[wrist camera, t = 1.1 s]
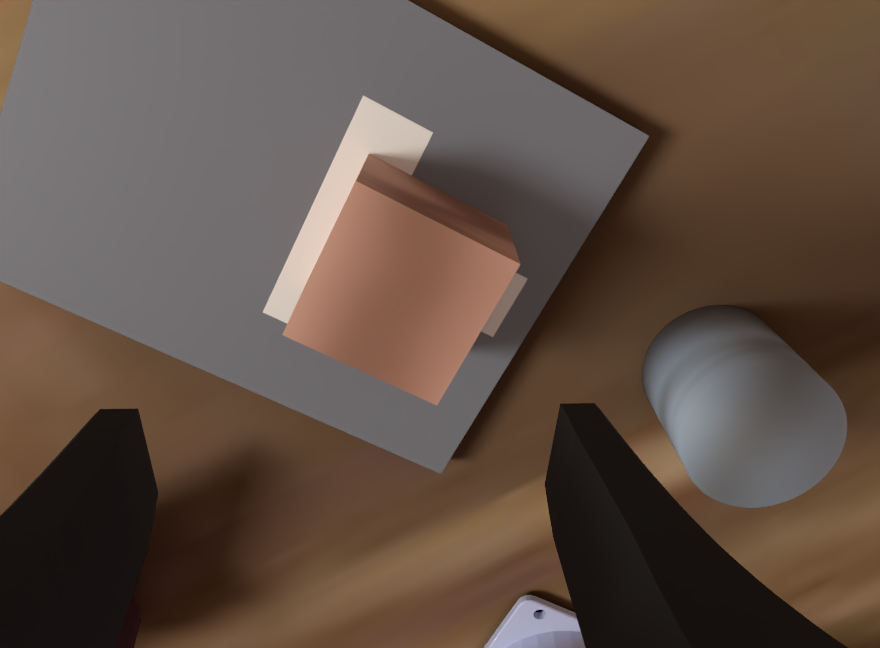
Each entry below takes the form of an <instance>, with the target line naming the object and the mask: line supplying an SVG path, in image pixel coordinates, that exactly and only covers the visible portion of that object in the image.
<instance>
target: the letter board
mask: <svg viewBox="0 0 880 648" xmlns="http://www.w3.org/2000/svg"><path fill="white" fill-rule="evenodd" d="M648 138H649V136H648V135H647V134H645V133H644V132H642V131H640V130H639V129H637V128H635V127H633V126H631V125H630V124H628V123H626V122H624V121H622V120H621V119H619V118H617V117H615V116H614V115H612V114H610V113H608V112H606V111H605V110H603V109H601V108H599V107H598V106H596V105H594V104H592V103H590V102H589V101H587V100H585V99H583V98H582V97H580V96H578V95H576V94H574V93H573V92H571V91H569V90H567V89H566V88H564V87H562V86H560V85H558V84H557V83H555V82H553V81H551V80H550V79H548V78H546V77H544V76H542V75H541V74H539V73H537V72H535V71H534V70H532V69H530V68H528V67H526V66H525V65H523V64H521V63H519V62H518V61H516V60H514V59H512V58H510V57H509V56H507V55H505V54H503V53H502V52H500V51H498V50H496V49H494V48H493V47H491V46H489V45H487V44H486V43H484V42H482V41H480V40H478V39H477V38H475V37H473V36H471V35H470V34H468V33H466V32H464V31H462V30H461V29H459V28H457V27H455V26H454V25H452V24H450V23H448V22H446V21H445V20H443V19H441V18H439V17H438V16H436V15H434V14H432V13H430V12H429V11H427V10H425V9H423V8H422V7H420V6H418V5H416V4H414V3H413V2H411V1H409V0H33V3H32V6H31V10H30V13H29V17H28V20H27V24H26V27H25V31H24V34H23V38H22V41H21V45H20V48H19V52H18V55H17V59H16V62H15V66H14V69H13V73H12V76H11V80H10V83H9V87H8V90H7V93H6V97H5V100H4V104H3V107H2V111H1V114H0V281H1V282H3V283H6V284H8V285H10V286H12V287H15V288H17V289H19V290H22V291H24V292H26V293H28V294H31V295H33V296H35V297H38V298H40V299H42V300H44V301H47V302H49V303H51V304H54V305H56V306H58V307H60V308H63V309H65V310H67V311H70V312H72V313H74V314H76V315H79V316H81V317H83V318H86V319H88V320H90V321H92V322H95V323H97V324H99V325H102V326H104V327H106V328H108V329H111V330H113V331H115V332H118V333H120V334H122V335H124V336H127V337H129V338H131V339H134V340H136V341H138V342H140V343H143V344H145V345H147V346H150V347H152V348H154V349H156V350H159V351H161V352H163V353H166V354H168V355H170V356H172V357H175V358H177V359H179V360H182V361H184V362H186V363H188V364H191V365H193V366H195V367H198V368H200V369H202V370H204V371H207V372H209V373H211V374H214V375H216V376H218V377H220V378H223V379H225V380H227V381H230V382H232V383H234V384H236V385H239V386H241V387H243V388H246V389H248V390H250V391H252V392H255V393H257V394H259V395H262V396H264V397H266V398H268V399H271V400H273V401H275V402H278V403H280V404H282V405H284V406H287V407H289V408H291V409H294V410H296V411H298V412H300V413H303V414H305V415H307V416H310V417H312V418H314V419H316V420H319V421H321V422H323V423H326V424H328V425H330V426H332V427H335V428H337V429H339V430H342V431H344V432H346V433H348V434H351V435H353V436H355V437H358V438H360V439H362V440H364V441H367V442H369V443H371V444H374V445H376V446H378V447H380V448H383V449H385V450H387V451H390V452H392V453H394V454H396V455H399V456H401V457H403V458H406V459H408V460H410V461H412V462H415V463H417V464H419V465H422V466H424V467H426V468H428V469H431V470H433V471H435V472H438V473H440V474H441V473H442V471H443V470H444V468H445V466H446V465H447V463H448V461H449V460H450V458H451V457H452V455H453V453H454V452H455V450H456V449H457V447H458V445H459V444H460V442H461V440H462V439H463V437H464V436H465V434H466V432H467V431H468V429H469V427H470V426H471V424H472V423H473V421H474V419H475V418H476V416H477V415H478V413H479V411H480V410H481V408H482V406H483V405H484V403H485V402H486V400H487V398H488V397H489V395H490V393H491V392H492V390H493V389H494V387H495V385H496V384H497V382H498V381H499V379H500V377H501V376H502V374H503V372H504V371H505V369H506V368H507V366H508V364H509V363H510V361H511V359H512V358H513V356H514V355H515V353H516V351H517V350H518V348H519V347H520V345H521V343H522V342H523V340H524V338H525V337H526V335H527V334H528V332H529V330H530V329H531V327H532V325H533V324H534V322H535V321H536V319H537V317H538V316H539V314H540V313H541V311H542V309H543V308H544V306H545V304H546V303H547V301H548V300H549V298H550V296H551V295H552V293H553V291H554V290H555V288H556V287H557V285H558V283H559V282H560V280H561V279H562V277H563V275H564V274H565V272H566V270H567V269H568V267H569V266H570V264H571V262H572V261H573V259H574V257H575V256H576V254H577V253H578V251H579V249H580V248H581V246H582V245H583V243H584V241H585V240H586V238H587V236H588V235H589V233H590V232H591V230H592V228H593V227H594V225H595V223H596V222H597V220H598V219H599V217H600V215H601V214H602V212H603V211H604V209H605V207H606V206H607V204H608V202H609V201H610V199H611V198H612V196H613V194H614V193H615V191H616V189H617V188H618V186H619V185H620V183H621V181H622V180H623V178H624V177H625V175H626V173H627V172H628V170H629V168H630V167H631V165H632V164H633V162H634V160H635V159H636V157H637V155H638V154H639V152H640V151H641V149H642V147H643V146H644V144H645V143H646V141H647V139H648ZM368 154H371V155H373V156H375V157H377V158H379V159H380V160H382V161H384V162H386V163H388V164H390V165H392V166H394V167H396V168H398V169H400V170H402V171H404V172H406V173H408V174H410V175H412V176H413V177H415V178H417V179H419V180H421V181H423V182H425V183H427V184H429V185H431V186H433V187H435V188H437V189H439V190H441V191H443V192H445V193H446V194H448V195H450V196H452V197H454V198H456V199H458V200H460V201H462V202H464V203H466V204H468V205H470V206H472V207H474V208H476V209H478V210H479V211H481V212H483V213H485V214H487V215H489V216H491V217H493V218H495V219H497V220H499V221H501V222H503V223H505V224H507V225H508V227H509V230H510V233H511V236H512V239H513V242H514V245H515V248H516V252H517V255H518V258H519V261H520V266H519V268H518V269H517V271H516V273H515V275H514V276H513V278H512V280H511V281H510V283H509V285H508V286H507V288H506V290H505V291H504V293H503V295H502V297H501V298H500V300H499V302H498V303H497V305H496V307H495V308H494V310H493V312H492V313H491V315H490V317H489V319H488V320H487V322H486V324H485V325H484V327H483V329H482V330H481V332H480V334H479V336H478V337H477V339H476V341H475V342H474V344H473V346H472V347H471V349H470V351H469V352H468V354H467V356H466V358H465V359H464V361H463V363H462V364H461V366H460V368H459V369H458V371H457V373H456V374H455V376H454V378H453V380H452V381H451V383H450V385H449V386H448V388H447V390H446V391H445V393H444V395H443V396H442V398H441V400H440V402H439V403H438V405H435V404H432V403H430V402H428V401H426V400H424V399H421V398H419V397H417V396H415V395H413V394H410V393H408V392H406V391H404V390H402V389H399V388H397V387H395V386H393V385H391V384H388V383H386V382H384V381H382V380H380V379H377V378H375V377H373V376H371V375H369V374H367V373H364V372H362V371H360V370H358V369H356V368H353V367H351V366H349V365H347V364H345V363H342V362H340V361H338V360H336V359H334V358H331V357H329V356H327V355H325V354H323V353H320V352H318V351H316V350H314V349H312V348H309V347H307V346H305V345H303V344H301V343H298V342H296V341H294V340H292V339H290V338H288V337H285V336H283V335H282V334H283V332H284V330H285V328H286V326H287V324H288V321H289V319H290V317H291V315H292V313H293V311H294V309H295V306H296V304H297V302H298V300H299V298H300V296H301V294H302V291H303V289H304V287H305V285H306V283H307V281H308V279H309V277H310V275H311V273H312V271H313V268H314V266H315V264H316V262H317V260H318V258H319V256H320V254H321V252H322V250H323V248H324V246H325V243H326V241H327V239H328V237H329V235H330V233H331V231H332V229H333V227H334V225H335V223H336V221H337V218H338V216H339V214H340V212H341V210H342V208H343V206H344V204H345V202H346V200H347V198H348V196H349V193H350V191H351V189H352V187H353V185H354V183H355V181H356V179H357V177H358V175H359V173H360V171H361V168H362V166H363V164H364V162H365V160H366V158H367V156H368Z"/></svg>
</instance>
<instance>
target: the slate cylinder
mask: <svg viewBox="0 0 880 648" xmlns="http://www.w3.org/2000/svg"><path fill="white" fill-rule="evenodd" d="M642 382H643V387H644V391H645V394H646V396H647V398H648V400H649V402H650V404H651V405H652V407H653V409H654V411H655V413H656V415H657V417H658V419H659V420H660V422H661V424H662V426H663V428H664V430H665V432H666V434H667V435H668V437H669V439H670V441H671V443H672V445H673V447H674V449H675V450H676V452H677V454H678V456H679V458H680V460H681V462H682V464H683V465H684V467H685V469H686V471H687V473H688V475H689V477H690V478H691V480H692V481H693V482H694V484H695V485H696V486H697V487H698V488H699V489H700V490H701V491H702V492H704V493H705V494H706V495H708V496H709V497H711V498H713V499H715V500H716V501H719V502H722V503H724V504H728V505H732V506H737V507H744V508H756V507H766V506H771V505H776V504H779V503H782V502H786V501H788V500H790V499H793V498H795V497H797V496H799V495H801V494H803V493H804V492H806V491H807V490H809V489H810V488H812V487H813V486H815V485H816V484H817V483H818V482H819V481H821V480H822V479H823V478H824V477H825V475H826V474H827V473H828V472H829V471H830V470H831V468H832V467H833V466H834V465H835V463H836V461H837V460H838V458H839V456H840V454H841V452H842V449H843V447H844V443H845V440H846V434H847V417H846V412H845V409H844V406H843V403H842V401H841V400H840V398H839V396H838V394H837V393H836V392H835V391H834V390H833V388H832V387H831V386H830V385H829V384H828V383H827V382H826V381H825V380H824V379H822V378H821V377H820V376H819V375H818V374H817V373H816V372H815V371H814V370H813V369H812V368H811V367H810V366H809V365H808V364H807V363H806V362H805V361H804V360H803V359H802V358H801V357H800V356H799V355H798V354H797V353H796V352H795V351H794V350H793V349H792V348H791V347H790V346H789V345H788V344H786V343H785V342H784V341H783V340H782V339H781V338H780V337H779V336H778V335H777V334H776V333H775V332H774V331H773V330H772V329H771V328H770V327H769V326H768V325H767V324H766V323H765V322H764V321H763V320H761V319H760V318H759V317H758V316H756V315H755V314H753V313H751V312H749V311H747V310H745V309H742V308H738V307H734V306H727V305H713V306H706V307H701V308H697V309H694V310H692V311H689V312H687V313H685V314H683V315H681V316H679V317H677V318H676V319H674V320H673V321H671V322H670V323H669V324H668V325H666V326H665V327H664V328H663V329H662V330H661V331H660V332H659V333H658V335H657V336H656V337H655V338H654V340H653V341H652V343H651V345H650V346H649V348H648V350H647V353H646V355H645V358H644V362H643V368H642Z"/></svg>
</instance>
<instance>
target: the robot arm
mask: <svg viewBox="0 0 880 648" xmlns="http://www.w3.org/2000/svg"><path fill="white" fill-rule="evenodd" d="M545 488H546V495H547V502H548V508H549V515H550V520H551V526H552V532H553V538H554V541H555V545H556V548H557V552H558V555H559V559H560V562H561V566H562V569H563V573H564V576H565V580H566V583H567V587H568V590H569V593H570V597H571V600H572V604H573V607H574V610H575V612H572V611H570V610H567V609H565V608H563V607H560V606H558V605H555V604H553V603H551V602H548V601H546V600H543V599H541V598H539V597H536V596H533V595H525V596H522V597H521V598H520V599H518V601H517V602H516V603H515V605H514V606H513V608H512V609H511V610H510V612H509V613H508V615H507V616H506V617H505V619H504V620H503V621H502V623H501V624H500V626H499V627H498V628H497V630H496V631H495V633H494V634H493V635H492V637H491V638H490V640H489V641H488V642H487V644H486V645H485V646H484V648H847V647H846V646H844V645H843V644H841V643H840V642H838V641H837V640H836V639H834V638H833V637H831V636H830V635H829V634H827V633H826V632H824V631H823V630H822V629H820V628H819V627H817V626H816V625H815V624H813V623H812V622H811V621H809V620H808V619H807V618H805V617H804V616H803V615H802V614H800V613H799V612H798V611H796V610H795V609H794V608H792V607H791V606H790V605H789V604H787V603H786V602H785V601H783V600H782V599H781V598H779V597H778V596H777V595H776V594H774V593H773V592H772V591H771V590H770V589H768V588H767V587H766V586H765V585H763V584H762V583H761V582H760V581H759V580H757V579H756V578H755V577H754V576H753V575H752V574H751V573H749V572H748V571H747V570H746V569H745V568H744V567H743V566H742V565H740V564H739V563H738V562H737V561H736V560H735V559H734V558H732V557H731V556H730V555H729V554H728V553H727V552H726V551H725V550H724V549H723V548H722V547H721V546H719V545H718V544H717V543H716V542H715V541H714V540H713V539H712V538H711V537H710V536H709V535H708V534H707V533H706V532H705V531H704V530H703V529H702V528H701V527H700V526H699V525H698V524H697V523H696V521H695V520H694V519H693V518H692V517H691V516H690V515H689V514H688V513H687V512H686V511H685V510H684V509H683V508H682V507H681V506H680V505H679V504H678V502H677V501H676V500H675V499H674V498H673V497H672V496H671V495H670V494H669V492H668V491H667V490H666V489H665V488H664V487H663V486H662V485H661V483H660V482H659V481H658V480H657V479H656V478H655V477H654V475H653V474H652V473H651V472H650V471H649V470H648V468H647V467H646V466H645V465H644V464H643V463H642V461H641V460H640V459H639V458H638V456H637V455H636V454H635V453H634V452H633V450H632V449H631V448H630V447H629V445H628V444H627V443H626V442H625V440H624V439H623V438H622V437H621V435H620V434H619V433H618V432H617V430H616V429H615V428H614V427H613V425H612V424H611V423H610V422H609V420H608V419H607V418H606V416H605V415H604V414H603V413H602V411H601V410H600V409H599V408H598V407H597V406H596V405H595V403H581V404H560V409H559V414H558V419H557V424H556V429H555V434H554V440H553V445H552V450H551V455H550V460H549V465H548V471H547V476H546V481H545ZM157 496H158V490H157V486H156V482H155V477H154V473H153V469H152V465H151V461H150V457H149V453H148V448H147V444H146V440H145V436H144V432H143V428H142V423H141V419H140V415H139V411H138V409H100V410H99V411H98V412H97V413H96V414H95V415H94V416H93V417H92V418H91V419H90V420H89V421H88V422H87V423H86V425H85V426H84V427H83V428H82V429H81V430H80V431H79V432H78V433H77V435H76V436H75V437H74V438H73V439H72V440H71V441H70V442H69V444H68V445H67V446H66V447H65V448H64V449H63V450H62V451H61V452H60V454H59V455H58V456H57V457H56V458H55V459H54V460H53V461H52V462H51V463H50V464H49V466H48V467H47V468H46V469H45V470H44V471H43V472H42V473H41V474H40V475H39V476H38V477H37V478H36V479H35V480H34V482H33V483H32V484H31V485H30V486H29V487H28V488H27V489H26V490H25V491H24V492H23V493H22V494H21V495H20V496H19V497H18V498H17V499H16V500H15V501H14V502H13V504H12V505H11V506H10V507H9V508H8V509H7V510H6V511H5V512H4V513H3V514H2V515H1V516H0V648H115V647H116V644H117V641H118V638H119V635H120V632H121V629H122V626H123V623H124V620H125V617H126V614H127V611H128V608H129V605H130V602H131V599H132V596H133V593H134V590H135V587H136V583H137V580H138V577H139V574H140V571H141V568H142V565H143V562H144V558H145V555H146V552H147V549H148V544H149V539H150V534H151V529H152V524H153V519H154V513H155V508H156V502H157ZM536 610H543V611H542V612H535V611H536Z"/></svg>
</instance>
